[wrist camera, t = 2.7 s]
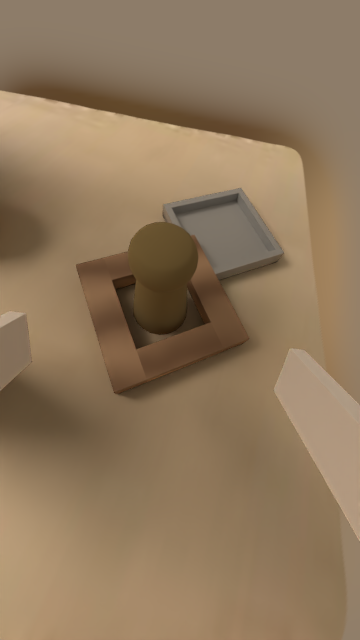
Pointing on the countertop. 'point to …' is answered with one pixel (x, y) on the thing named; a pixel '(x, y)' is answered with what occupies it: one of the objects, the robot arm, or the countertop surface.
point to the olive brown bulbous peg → (161, 275)
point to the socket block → (169, 353)
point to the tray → (226, 231)
